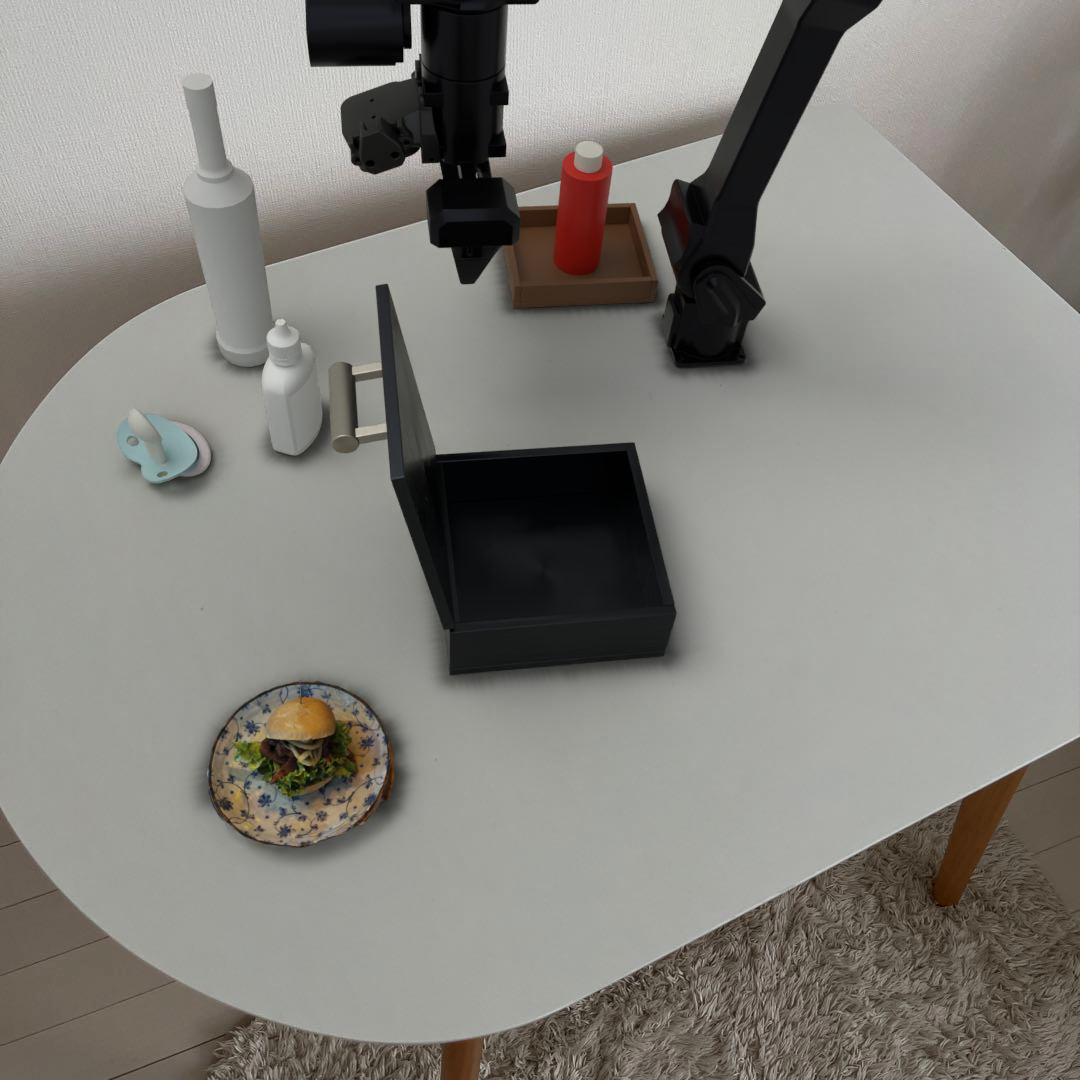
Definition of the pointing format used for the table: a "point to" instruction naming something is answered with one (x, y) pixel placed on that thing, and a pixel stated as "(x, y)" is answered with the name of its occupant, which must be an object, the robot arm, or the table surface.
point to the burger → (300, 765)
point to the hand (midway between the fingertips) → (461, 243)
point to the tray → (614, 281)
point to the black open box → (552, 558)
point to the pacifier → (162, 447)
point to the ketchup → (582, 209)
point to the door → (399, 446)
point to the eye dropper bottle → (291, 391)
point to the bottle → (226, 234)
